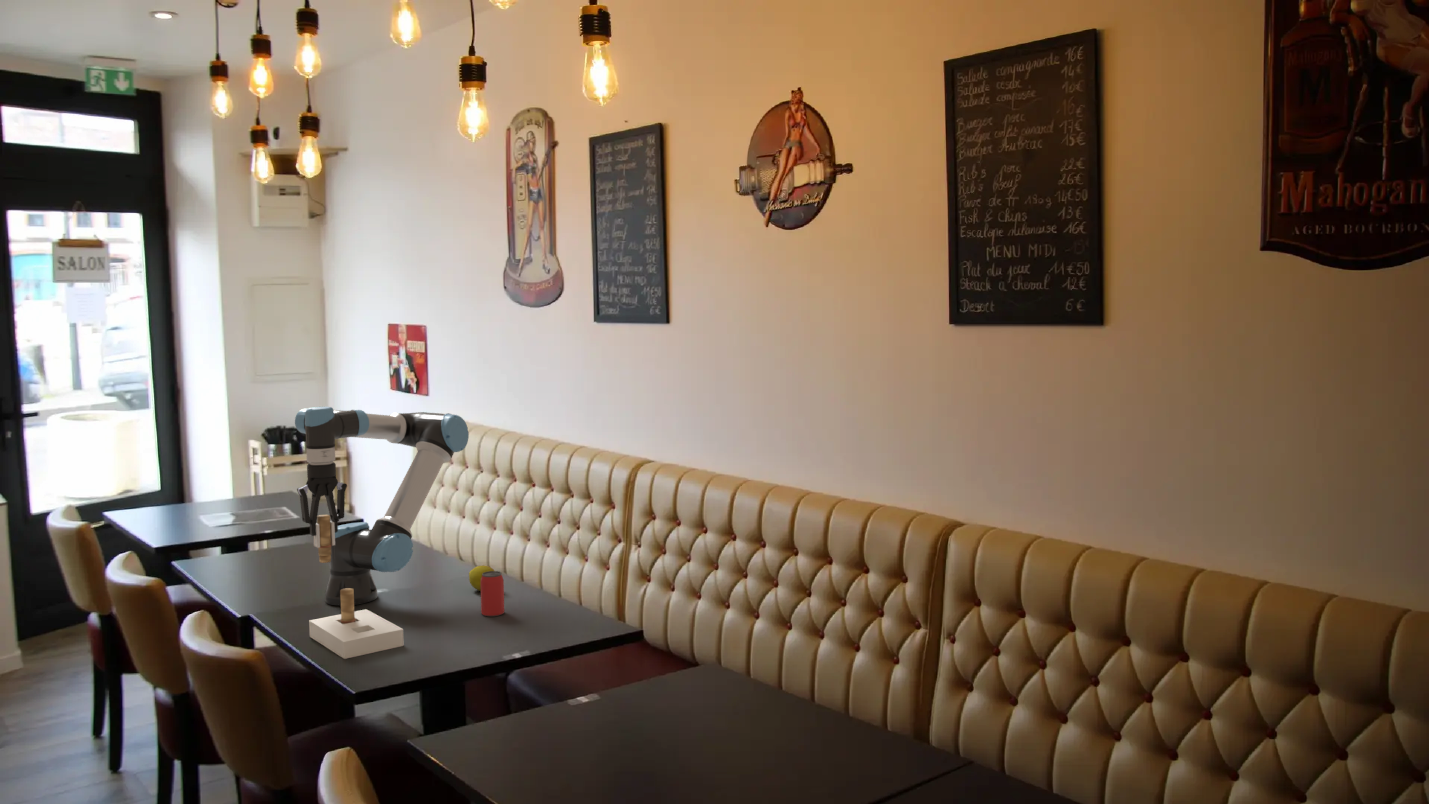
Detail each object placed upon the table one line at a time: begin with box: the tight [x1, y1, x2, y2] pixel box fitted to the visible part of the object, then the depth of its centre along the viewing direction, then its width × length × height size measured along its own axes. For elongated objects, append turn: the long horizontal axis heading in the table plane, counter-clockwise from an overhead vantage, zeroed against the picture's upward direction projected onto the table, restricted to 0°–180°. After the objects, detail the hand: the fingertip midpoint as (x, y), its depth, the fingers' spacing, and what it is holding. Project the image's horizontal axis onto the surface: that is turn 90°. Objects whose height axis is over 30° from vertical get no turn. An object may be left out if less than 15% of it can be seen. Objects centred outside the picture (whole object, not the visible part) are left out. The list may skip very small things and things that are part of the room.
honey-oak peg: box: [316, 514, 331, 564], centre depth 306 cm, size 4×4×13 cm
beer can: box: [480, 570, 505, 618], centre depth 317 cm, size 7×7×12 cm
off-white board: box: [308, 608, 405, 660], centre depth 293 cm, size 16×24×4 cm, turn 40°
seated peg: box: [340, 588, 355, 624], centre depth 296 cm, size 4×4×13 cm
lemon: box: [468, 564, 495, 592], centre depth 342 cm, size 11×8×8 cm
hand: (324, 545), depth 306 cm, fingers closed on honey-oak peg, 3 cm apart
